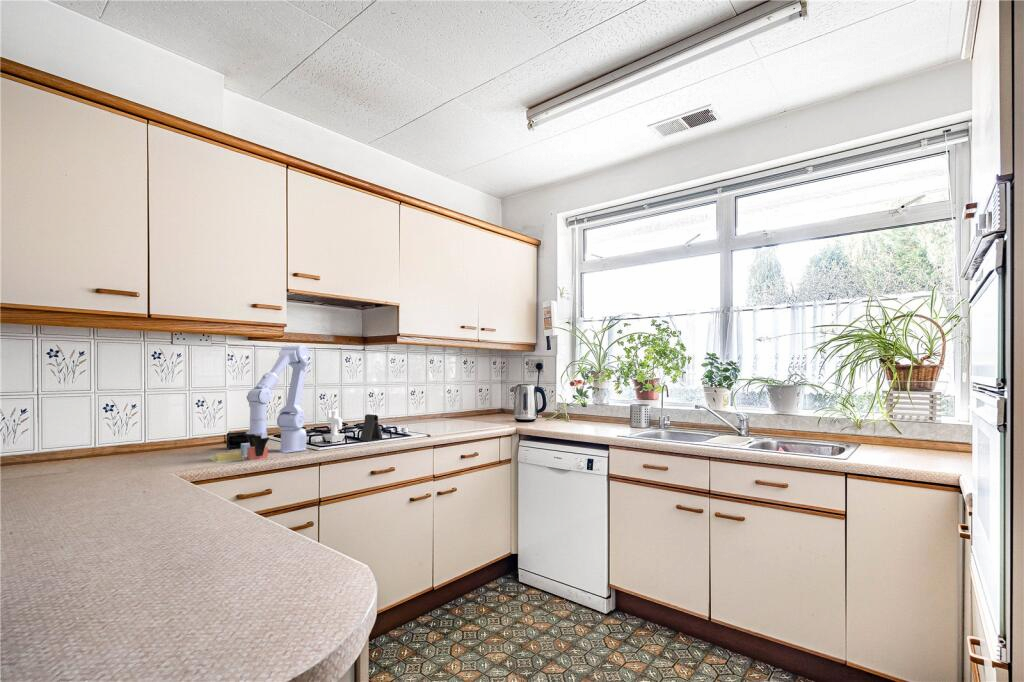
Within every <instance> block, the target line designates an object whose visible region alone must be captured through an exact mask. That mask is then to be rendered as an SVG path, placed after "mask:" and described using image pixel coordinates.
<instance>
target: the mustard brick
mask: <svg viewBox="0 0 1024 682" xmlns="http://www.w3.org/2000/svg"><path fill="white" fill-rule="evenodd" d="M242 456H243V455H242V453H241V451H238V450H237V451H229V452H221V453H214V457H213V458H214V459H215V460H217V461H225V460H233V459H241V458H242Z"/></svg>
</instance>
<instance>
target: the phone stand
mask: <svg viewBox="0 0 1024 682" xmlns="http://www.w3.org/2000/svg"><path fill="white" fill-rule="evenodd" d="M380 439H382V440H383V435H382V432H381V427H380V424H379V416H378V415H377V414H369V413H367V414H366V413H365V414H364V422H363V427H362V430H361V432H360V436H359V441H360V440H363V441H362V442H366V441H370V442H375V441H374V440H376V441H380Z"/></svg>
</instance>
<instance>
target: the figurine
mask: <svg viewBox="0 0 1024 682" xmlns="http://www.w3.org/2000/svg"><path fill="white" fill-rule="evenodd" d="M326 420H327V422H328V423H330V433H326V434H322V436H323V438H324V439H325V442H327V441H330V442H337V441H341V442H342V441H343V440H344V438H345V436H346V433H340V432H338V431H339V430H342V429H343V420H342V418H341V417H339V410H338V409H331V410H327V414H326Z"/></svg>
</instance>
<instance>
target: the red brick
mask: <svg viewBox="0 0 1024 682" xmlns="http://www.w3.org/2000/svg"><path fill="white" fill-rule="evenodd" d="M263 459H264V460H265V459H268V446H267V445H265V448H264V452H263V455H262V456H256V453H255V446H254V447H247V455H246V460H249V461H254V460H263Z"/></svg>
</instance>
